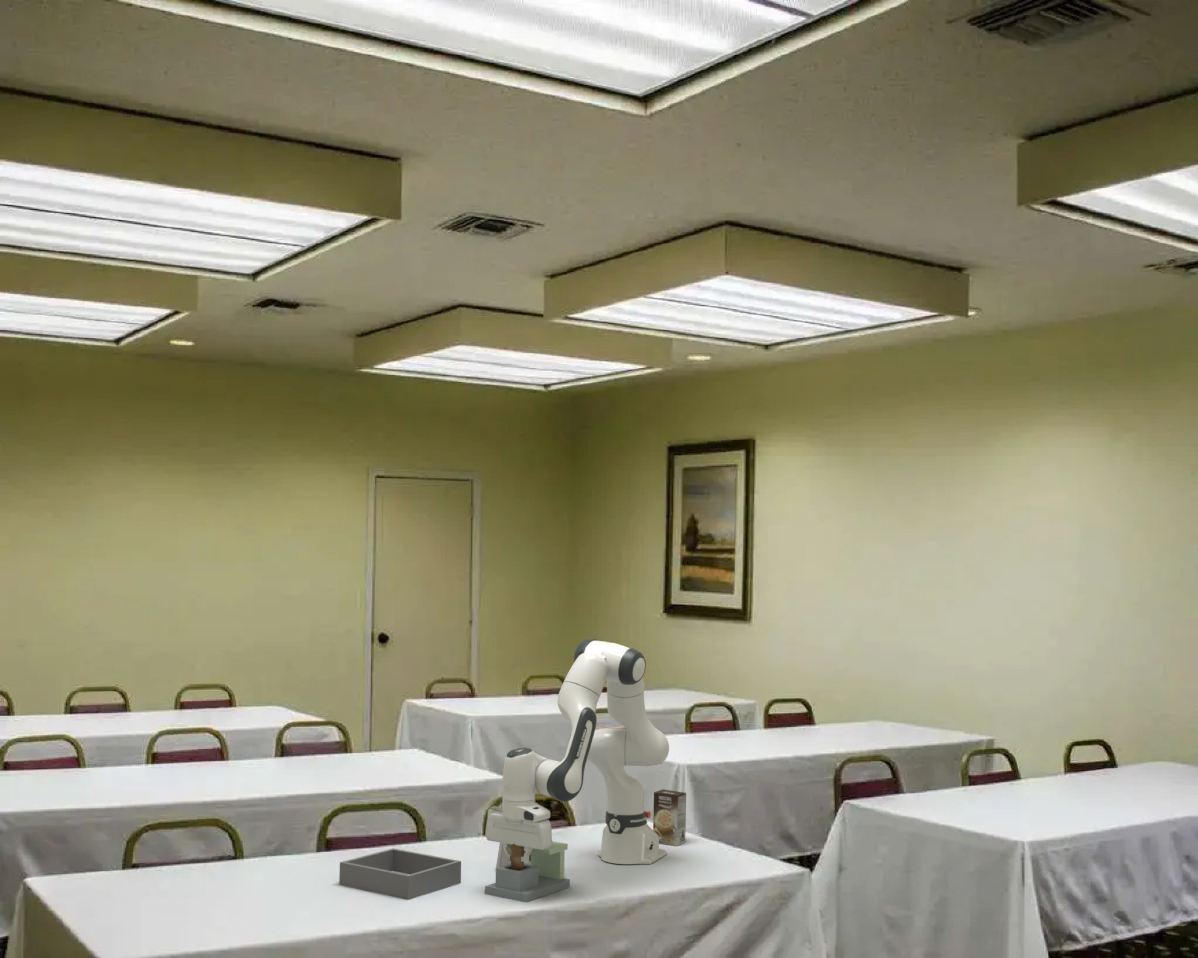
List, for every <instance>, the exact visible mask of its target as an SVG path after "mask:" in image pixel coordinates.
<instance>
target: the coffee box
mask: <svg viewBox="0 0 1198 958" xmlns="http://www.w3.org/2000/svg"><path fill="white" fill-rule="evenodd" d="M652 817H653V818H652V819H653V821H652V830H653V831H654V832H655V833H656V834H657V835H658V838H659V845H660V844H662V845H667V846H673V847H678V846H680V845H683V844H685V843H686V828H687V827H686V826H687V825H686V824H687V823H686V820H687V792H683V791H678V790H677V791H676V790H672V789H663V788H662V789H660V790H656V791H654V792H653V816H652Z"/></svg>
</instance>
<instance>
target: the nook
mask: <svg viewBox="0 0 1198 958" xmlns="http://www.w3.org/2000/svg"><path fill="white" fill-rule="evenodd" d="M568 845H569V844H568V843H565V842H560V841H559V842H558V841H553V840H552V843H551V846H550V847H549V848H547V849H544V850H540V849H534V848H533V851H532V852H531V865H525V864H524V869H523V870H520V871H517V870H512V869H511V864H508V865H505V866H501V867H498V868H496V867H495V882H492V883H491V884H487V885H484V894H485V895H490V896H495V897H500V898H505V899H509V900H513V901H518V902H523V903H524V902H525V903H528V902H531V901H534V900H537V899H540V898H543V897H544V896H548V895H550V894H553V893H556V892H559V891H561V890H564V889H568V888H570V887H571V879H570V878H565V855H566V854H565V851H567V850H568Z"/></svg>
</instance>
